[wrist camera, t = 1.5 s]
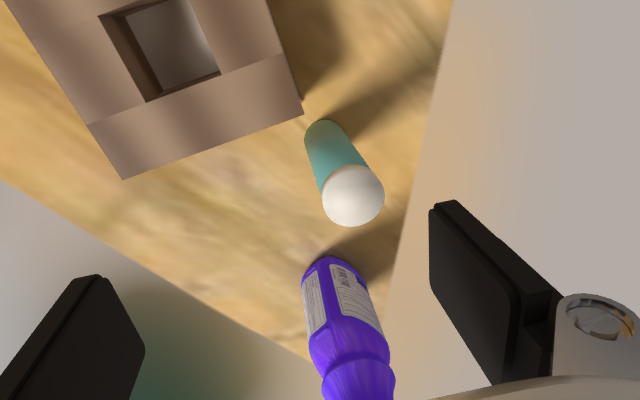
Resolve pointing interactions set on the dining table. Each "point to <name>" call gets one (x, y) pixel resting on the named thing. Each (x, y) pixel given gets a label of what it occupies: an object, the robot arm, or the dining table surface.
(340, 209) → the peg
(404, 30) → the dining table surface
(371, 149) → the dining table surface
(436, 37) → the dining table surface
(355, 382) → the bottle
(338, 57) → the dining table surface
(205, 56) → the socket block
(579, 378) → the robot arm
